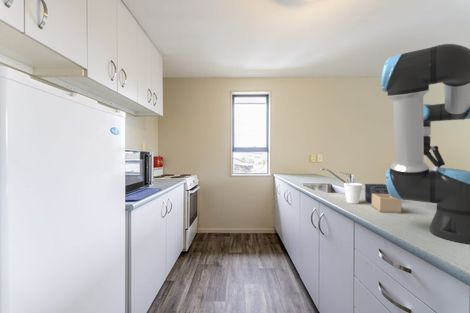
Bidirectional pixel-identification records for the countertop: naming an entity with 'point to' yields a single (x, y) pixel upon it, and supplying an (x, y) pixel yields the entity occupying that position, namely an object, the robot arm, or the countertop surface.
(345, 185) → the cup
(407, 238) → the countertop surface
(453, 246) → the countertop surface
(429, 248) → the countertop surface
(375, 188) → the small box
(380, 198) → the tray
